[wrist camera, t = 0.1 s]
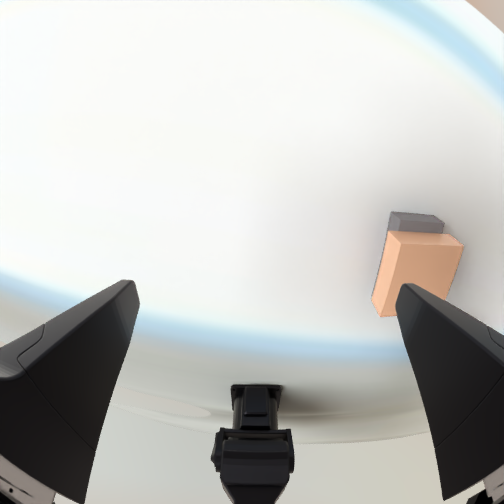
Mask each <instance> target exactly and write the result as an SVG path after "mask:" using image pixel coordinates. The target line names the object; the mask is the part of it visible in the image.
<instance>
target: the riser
mask: <svg viewBox="0 0 504 504" xmlns="http://www.w3.org/2000/svg"><path fill="white" fill-rule="evenodd" d="M443 227H444V223H443V222H442V221H441V220H439V219H438V218H436V217H435V216H434V215H424V214H413V213H401V212H391V214H390V219H389V225H388V230H387V234H388V231H407V232H424V233H440V234H442V231H443ZM386 239H387V235H386ZM386 239H385V244H386ZM385 244H384V248H385ZM383 253H384V249H383ZM383 253H382V257H383ZM381 261H382V258H381ZM380 265H381V262H380ZM379 269H380V266H379ZM378 273H379V270H378ZM377 277H378V274H377ZM376 281H377V278H376ZM375 285H376V282H375ZM375 285H374V289H375ZM374 289H373V292H374ZM372 296H373V293H372Z"/></svg>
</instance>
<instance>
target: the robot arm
mask: <svg viewBox="0 0 504 504" xmlns="http://www.w3.org/2000/svg"><path fill="white" fill-rule="evenodd" d="M139 306H140V302H139V297H138V293H137V289H136V285H135V282H134V281H133V280H121V281H119V282H117V283H115V284H113V285H111V286H110V287H108V288H106V289H104V290H102V291H101V292H99V293H97V294H95V295H93V296H92V297H90V298H88V299H86V300H84V301H83V302H81V303H79V304H77V305H76V306H74V307H72V308H70V309H68V310H67V311H65V312H63V313H62V314H60V315H58V316H56V317H55V318H53V319H51V320H49V321H48V322H46V323H45V324H43V325H41V326H39V327H37V328H36V329H34V330H32V331H31V332H29V333H27V334H25V335H23V336H22V337H20V338H18V339H16V340H14V341H12V342H10V343H8V344H6V345H4V346H3V347H1V348H0V504H55V502H53V501H54V497H55V494H56V493H58V494H60V495H62V496H64V497H66V498H68V499H70V500H72V501H74V502H76V503H79V504H84V502H85V498H86V492H87V488H88V483H89V478H90V474H91V470H92V465H93V461H94V457H95V453H96V452H95V451H96V449H97V445H98V441H99V437H100V433H101V430H102V426H103V423H104V420H105V416H106V413H107V410H108V406H109V403H110V400H111V397H112V394H113V390H114V387H115V384H116V381H117V378H118V375H119V373H120V370H121V367H122V364H123V361H124V358H125V356H126V353H127V350H128V347H129V344H130V341H131V337H132V333H133V329H134V325H135V321H136V318H137V314H138V310H139ZM395 310H396V314H397V317H398V321H399V325H400V329H401V333H402V337H403V340H404V344H405V347H406V350H407V353H408V356H409V359H410V362H411V365H412V368H413V371H414V374H415V377H416V380H417V384H418V387H419V390H420V394H421V397H422V400H423V404H424V408H425V411H426V415H427V419H428V423H429V427H430V431H431V435H432V440H433V444H434V448H435V454H436V459H437V465H438V470H439V475H440V482H441V488H442V497H443V500H444V501H445V500H447V499H449V498H451V497H453V496H455V495H457V494H459V493H461V492H463V491H465V490H467V489H468V488H470V487H472V486H474V485H475V484H477V483H479V482H481V481H482V480H483V482H484V485H485V489H484V490H482V491H481V492H479V493H477V494H476V495H474V496H472V497H471V498H469V499H468V501H467V503H466V504H504V335H502V334H500V333H499V332H497V331H495V330H494V329H492V328H491V327H489V326H486V324H484V323H482V322H481V321H479V320H477V319H476V318H474V317H472V316H470V315H469V314H467V313H465V312H464V311H462V310H460V309H459V308H457V307H455V306H453V305H452V304H450V303H448V302H446V301H445V300H443V299H441V298H439V297H437V296H436V295H434V294H432V293H430V292H429V291H427V290H425V289H423V288H421V287H419V286H418V285H416V284H414V283H404V284H402V285H401V288H400V291H399V294H398V297H397V300H396V303H395ZM280 396H281V387H280V386H248V385H232V386H231V398H232V409H233V411H234V415H233V428H232V429H227V428H221V427H220V431H219V432H217V433H216V437H215V444H214V448H213V451H212V455H211V461H212V462H213V463H214V465H215V467H216V472H220V479H221V483H222V486H223V489H224V491H225V492H226V494H227V495H228V497H229V499H230V500H231V502H232V503H233V504H275V503H276V501H277V500H278V499H279V497H280V495H281V494H282V493H283V491H284V490H285V487H286V485H287V483H288V481H289V477H290V475H289V473H293V471H294V448H293V441H292V435H291V429H284V430H278V420H277V411H278V408H279V402H280Z"/></svg>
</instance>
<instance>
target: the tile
mask: <svg viewBox="0 0 504 504" xmlns="http://www.w3.org/2000/svg"><path fill="white" fill-rule="evenodd" d="M463 248H464V246H463V245H462V244H461V243H460V242H459V241H457V240H456V239H455V238H454V237H452V236H451V235H450V234H440V233H424V232H407V231H388V234H387V239H386V244H385V248H384V253H383V257H382V261H381V265H380V269H379V273H378V277H377V281H376V285H375V289H374V292H373V296H372V299H371V300H372V302H373V304H374V306H375V308H376V310H377V312H378V314H379V316H380V317H387V316H397V314H396V310H395V303H396V300H397V297H398V294H399V291H400V288H401V285H402V284H404V283H414V284H416V285H418V286H419V287H421V288H423V289H425V290H427V291H429V292H430V293H432V294H434V295H436V296H437V297H439V298H441V299H443V300H445V299H446V296H447V294H448V291H449V289H450V286H451V283H452V281H453V278H454V275H455V272H456V270H457V267H458V264H459V261H460V258H461V254H462V251H463Z"/></svg>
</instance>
